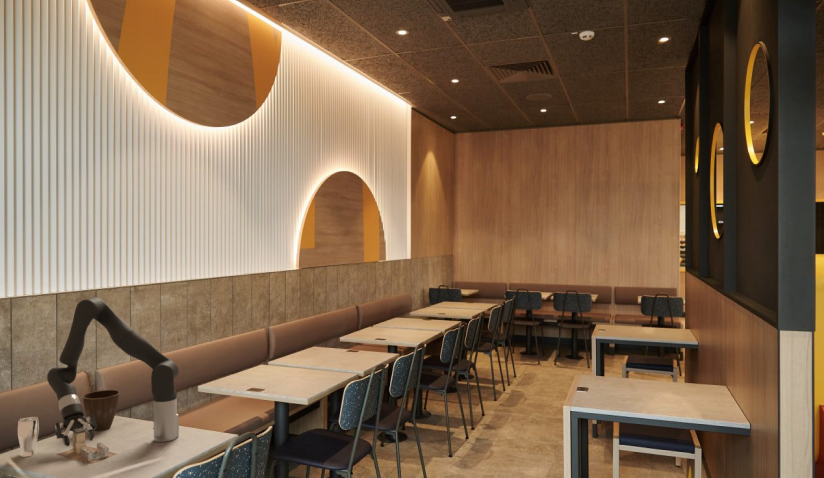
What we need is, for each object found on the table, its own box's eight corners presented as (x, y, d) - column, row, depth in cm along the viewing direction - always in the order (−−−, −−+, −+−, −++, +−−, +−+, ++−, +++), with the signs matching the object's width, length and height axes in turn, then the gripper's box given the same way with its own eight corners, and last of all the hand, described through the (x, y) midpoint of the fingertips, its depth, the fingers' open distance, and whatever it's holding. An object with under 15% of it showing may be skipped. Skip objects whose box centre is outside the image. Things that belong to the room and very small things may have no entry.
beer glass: (28, 460, 217) (27, 422, 217) (13, 459, 218) (13, 421, 218) (43, 453, 224) (42, 417, 224) (28, 452, 225) (28, 416, 225)
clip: (80, 456, 218) (80, 447, 218) (100, 450, 223) (100, 442, 223) (88, 462, 212) (88, 453, 212) (108, 456, 217) (108, 448, 217)
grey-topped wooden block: (72, 451, 223) (72, 429, 223) (81, 449, 225) (81, 427, 225) (77, 454, 219) (76, 432, 219) (85, 452, 221) (85, 430, 221)
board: (83, 447, 230) (83, 445, 230) (117, 456, 220) (117, 453, 220) (56, 457, 220) (56, 454, 220) (90, 467, 210) (90, 464, 210)
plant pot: (98, 422, 262) (98, 389, 262) (127, 423, 260) (126, 390, 260) (74, 433, 247) (74, 398, 247) (105, 435, 245) (104, 399, 245)
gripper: (52, 407, 222) (62, 442, 214) (91, 399, 232) (101, 432, 225) (49, 417, 225) (57, 452, 218) (87, 409, 236) (97, 442, 228)
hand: (80, 442), depth 221 cm, fingers open, 8 cm apart
